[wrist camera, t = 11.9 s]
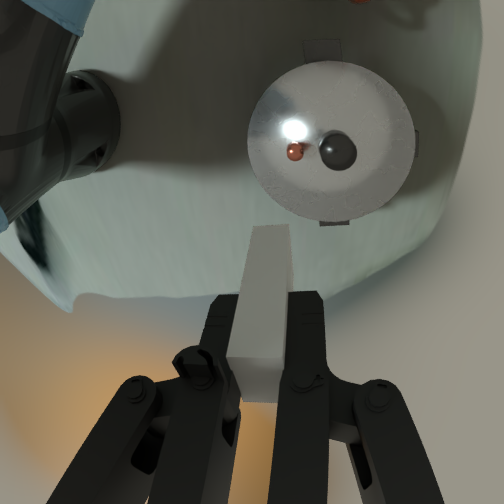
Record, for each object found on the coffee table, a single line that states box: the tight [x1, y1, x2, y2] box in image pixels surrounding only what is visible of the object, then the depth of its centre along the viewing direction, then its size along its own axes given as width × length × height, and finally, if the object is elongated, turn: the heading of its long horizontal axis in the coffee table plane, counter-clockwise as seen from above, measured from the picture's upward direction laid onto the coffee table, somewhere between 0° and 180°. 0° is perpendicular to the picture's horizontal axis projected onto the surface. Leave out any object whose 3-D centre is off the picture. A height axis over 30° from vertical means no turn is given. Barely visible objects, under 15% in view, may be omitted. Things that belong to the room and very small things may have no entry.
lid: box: [247, 61, 419, 222], centre depth 24 cm, size 15×15×3 cm
